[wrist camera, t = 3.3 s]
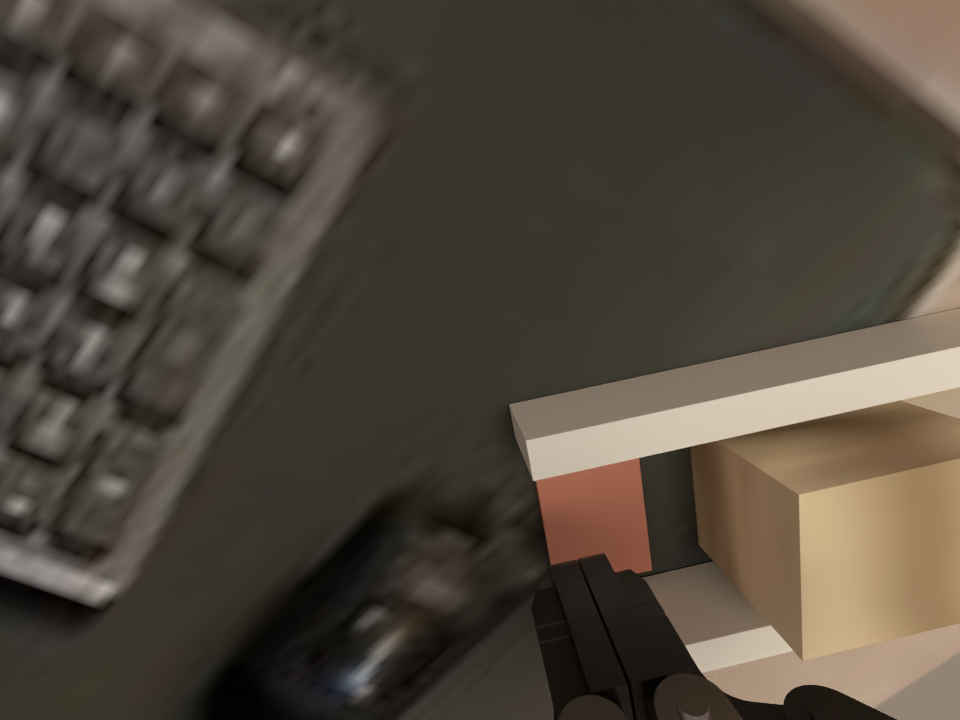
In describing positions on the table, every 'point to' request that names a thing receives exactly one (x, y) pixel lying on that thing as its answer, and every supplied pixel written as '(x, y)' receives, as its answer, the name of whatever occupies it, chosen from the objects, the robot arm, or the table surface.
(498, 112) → the table surface
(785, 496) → the maple block
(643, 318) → the table surface
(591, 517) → the channel
